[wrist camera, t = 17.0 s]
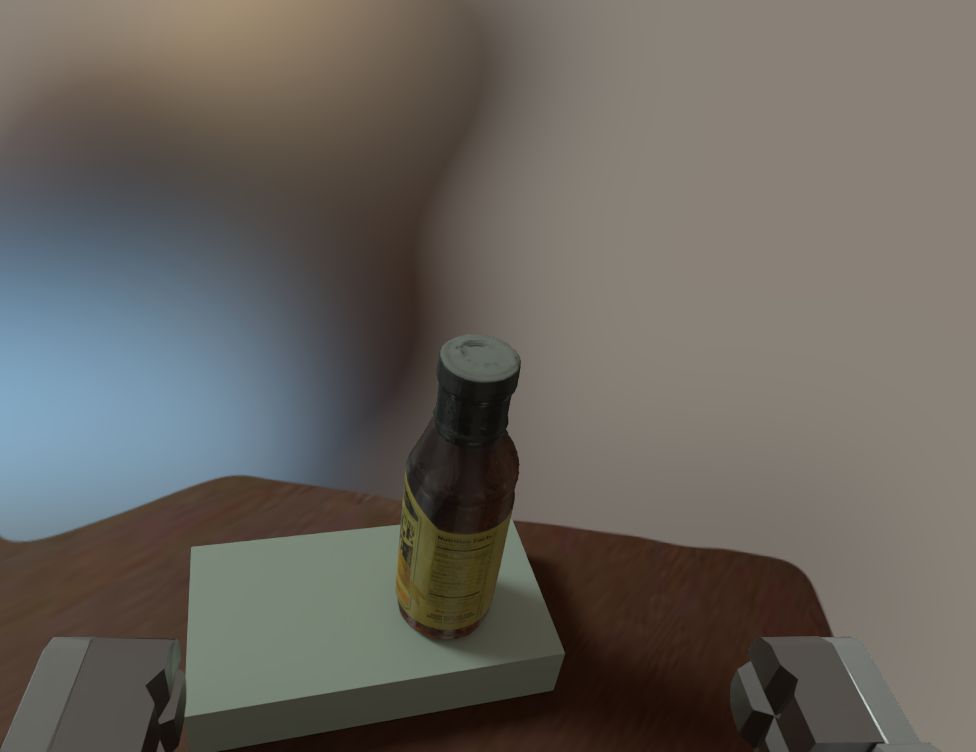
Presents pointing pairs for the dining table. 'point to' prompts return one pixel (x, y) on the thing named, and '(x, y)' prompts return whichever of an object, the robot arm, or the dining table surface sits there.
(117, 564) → the dining table surface
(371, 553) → the pale green rectangular block
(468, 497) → the sauce bottle
